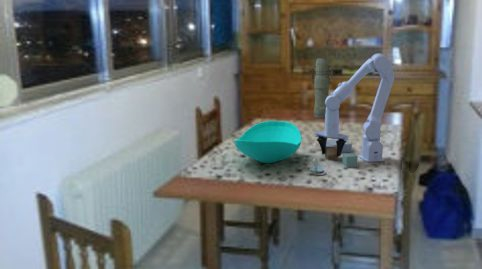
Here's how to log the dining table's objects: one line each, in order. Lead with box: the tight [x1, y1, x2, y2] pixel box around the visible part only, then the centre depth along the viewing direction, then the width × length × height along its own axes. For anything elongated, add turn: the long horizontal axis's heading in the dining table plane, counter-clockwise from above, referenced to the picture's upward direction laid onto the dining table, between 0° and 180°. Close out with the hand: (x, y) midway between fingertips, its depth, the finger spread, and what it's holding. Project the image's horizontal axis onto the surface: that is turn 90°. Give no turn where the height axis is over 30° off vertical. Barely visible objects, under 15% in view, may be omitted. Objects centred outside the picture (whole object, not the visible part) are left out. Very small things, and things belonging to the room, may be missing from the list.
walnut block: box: [324, 146, 339, 161], centre depth 224 cm, size 5×5×5 cm
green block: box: [342, 152, 359, 168], centre depth 213 cm, size 5×5×5 cm
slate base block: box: [326, 139, 353, 154], centre depth 237 cm, size 9×9×4 cm
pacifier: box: [309, 157, 327, 176], centre depth 204 cm, size 7×6×6 cm
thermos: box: [311, 56, 333, 119], centre depth 306 cm, size 9×12×35 cm
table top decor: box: [233, 120, 303, 164], centre depth 222 cm, size 40×28×13 cm
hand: (331, 154), depth 225 cm, fingers closed on walnut block, 6 cm apart
